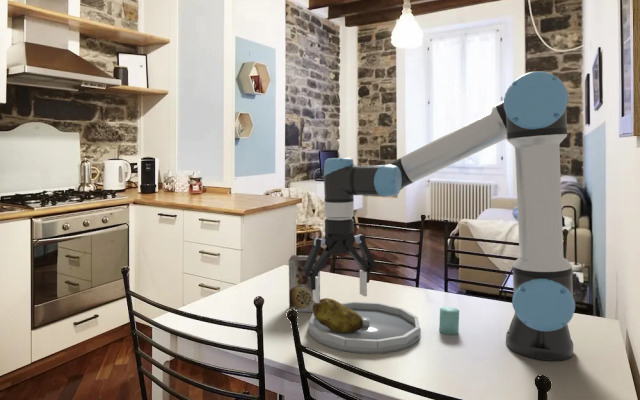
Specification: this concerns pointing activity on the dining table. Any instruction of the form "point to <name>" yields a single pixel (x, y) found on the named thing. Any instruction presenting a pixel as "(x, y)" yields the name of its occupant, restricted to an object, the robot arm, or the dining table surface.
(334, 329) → the potato
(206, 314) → the dining table surface
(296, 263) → the coffee box
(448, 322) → the bead
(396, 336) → the ring tray
